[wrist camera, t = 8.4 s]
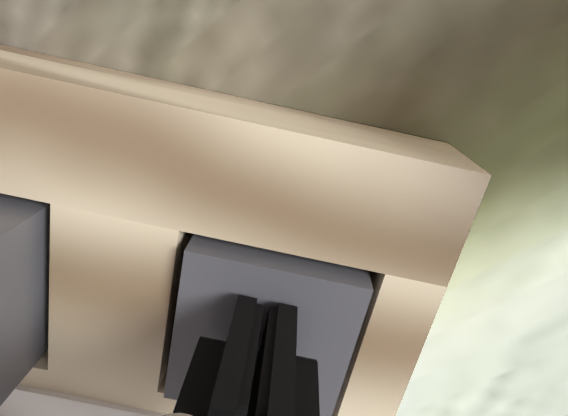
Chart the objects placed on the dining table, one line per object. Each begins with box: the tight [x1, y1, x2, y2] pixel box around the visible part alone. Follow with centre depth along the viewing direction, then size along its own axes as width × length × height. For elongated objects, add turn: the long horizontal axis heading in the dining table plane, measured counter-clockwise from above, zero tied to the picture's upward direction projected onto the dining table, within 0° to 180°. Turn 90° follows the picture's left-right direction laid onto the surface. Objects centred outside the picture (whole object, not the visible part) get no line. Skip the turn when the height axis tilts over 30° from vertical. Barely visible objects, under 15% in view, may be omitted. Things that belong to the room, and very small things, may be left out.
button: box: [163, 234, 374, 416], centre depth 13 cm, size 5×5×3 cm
